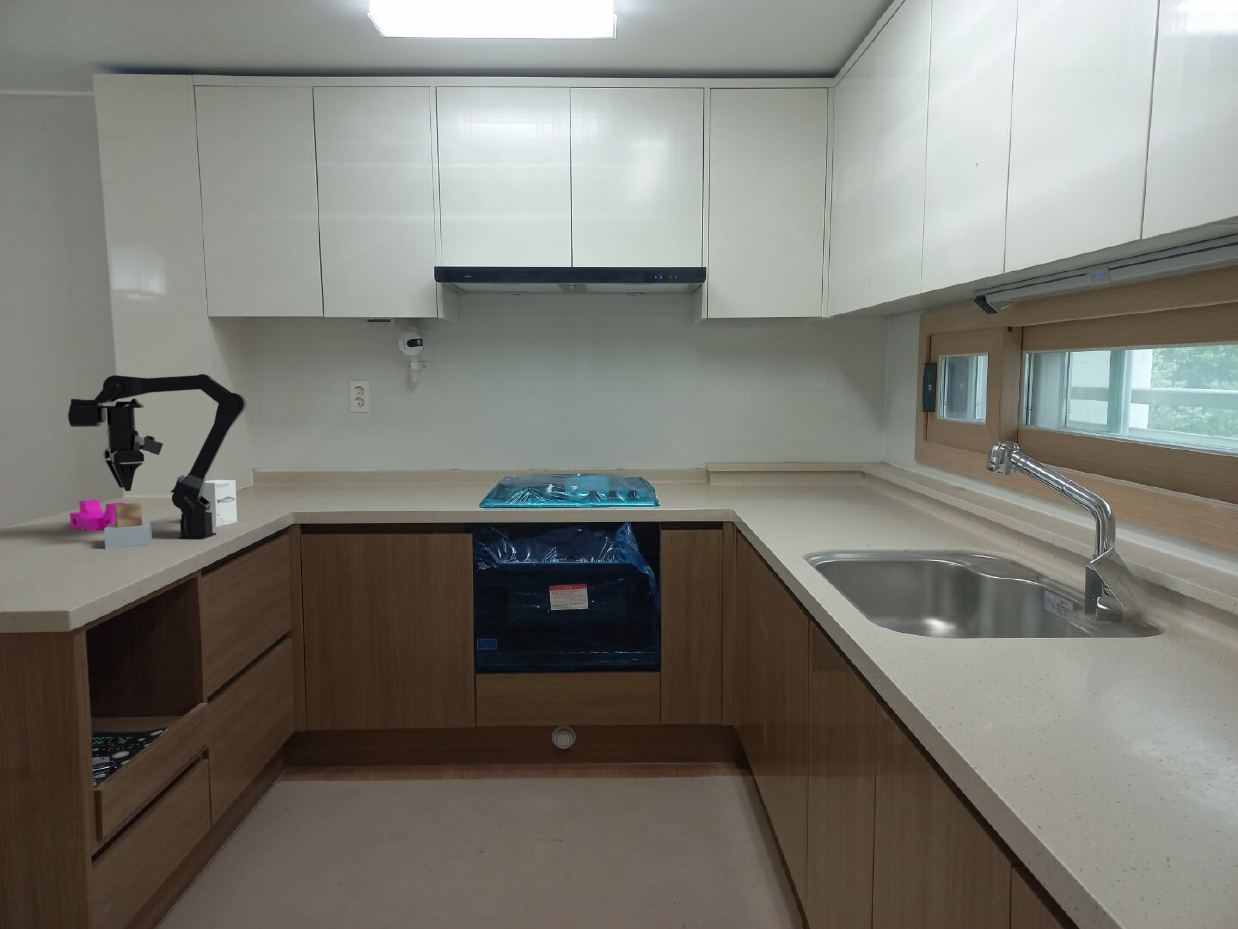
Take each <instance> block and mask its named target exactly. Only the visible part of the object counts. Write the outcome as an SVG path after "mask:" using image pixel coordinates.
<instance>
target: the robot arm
mask: <svg viewBox="0 0 1238 929" xmlns="http://www.w3.org/2000/svg"><path fill="white" fill-rule="evenodd" d="M194 390H196V391H197V390H201V392H203V393H204V394H206V395H207V396H208V397H210V398H211V399H212V400H213V401H214V402H216V404H217V403H218V404H217V408H216V413H215V415H214V416H215V417H214V420H213V421H214V422H213V425H212V427H211V428H210V431H209V433H208V435H207V437H206V439H205V441H204V443H203V445H202V447H201V448H200V451H199V452H198V455H197V457H196V459H195V461H194V462H193V465H192V467H191V468H190V471H189V473H188V474H186V476H185V475H183V474H182V475H180V476H179V477H177V479H176V482H175V486H174V487H173V489H172V490H170V493H171V494H172V496H171V501H172V504H173V506H174V507H176V508H178V509H179V510H180V512H181V514H180V516H181V517H180V518H181V519H180V520H179V526H180V536H177V538H178V540H180V539H181V540H183V539H184V540H185V539H186V540H191V539H192V540H203V539H206V538H209V537H213V536H216V535H217V532H213V530H214V529H213V527H212V512H207V511H209V509H210V506H211V502H209V501H208V500H207V499H205V498H204V497H203V496H202V493H203V489H204V484H205V481H206V479H207V478H206V477H207V475H208V473H209V472H210V470H211V467H212V466H213V463H214V462H215V459H216V457H217V455H218V453H219V451H220V450H221V447H222V445H223V443H224V442H225V440H226V437H227V435H228V433H229V431H230V429H231V428H232V427H233V425H234V424H235V423H236V422H237V420H238V419H239V418H240V416H242V414H243V412H244V411H245V410H246V409H247V401H246V399H245V397H244V396H243V395H242V394H240V393H237V392H231V391H230V390H229V389H227V388H226V387H224V386H223V385H221V384H220V383H218V381H216V380H215V379H214V378H213V377H212V376H211V375H209V374H206V373H199V374H193V375H181V376H163V377H160V376H159V377H148V378H147V377H139V376H138V377H137V376H125V375H110V376H108V377H106V379H105V380H103V383H102V390H101V391H100V392H99V393H98V394H97V396H96V397H95V398H94V399H82V398H71V399H70V405H69V408H68V412H67V418H68V423H69V426H71V428H87V427H88V428H92V427H93V428H94V427H95V428H96V427H97V428H99V427H101V425H102V424H103V423H104V424H105V423H107V430H106V435H107V436H108V438H107V439H108V440H107V441H108V446H107V447H106V448H105V449H104V450H103V451H102V453H103V459H105V460H104V462H105V464H106V466H107V467H108V468H109V471H110V473H111V475H112V477H113V478H114V480H115V482H116V484H117V486H118V487H119V488H120V489H121V488H123V489H124V491H125V492H130V491H131V490H132V487H133V482H134V478H135V473H136V470H137V469H138V468H139V467H140V466H142V465H143V463H145V454H144V453H143V452H142V451H145V452H149V453H150V454H154V455H157V456H159V455H160V453H161V451H162V447H163V446H164V443H162V442H160V441H156V440H155V439H156V438H155V437H154V436H152V435H151V436H150V435H147V434H146V436H144V437H142V436H139V435H140V434H139V431H138V430H136V420H135V418H136V416H135V409H142V408H144V404H142V403H141V402H139V401H138V399H137V398H136V397H139V396H143V395H146V394H147V395H148V394H152V393H165V392H180V391H181V392H182V391H194ZM134 397H135V398H134ZM131 398H132V399H131ZM124 399H131V400H130V401H126V400H125V401H122V400H124ZM118 400H119V401H118ZM120 400H121V401H120ZM114 402H116V403H115V405H104V404H108V403H110V404H111V403H114ZM106 421H107V422H106ZM141 450H142V451H141Z"/></svg>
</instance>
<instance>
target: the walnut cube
mask: <svg viewBox="0 0 1238 929" xmlns="http://www.w3.org/2000/svg"><path fill="white" fill-rule="evenodd" d="M114 509H115V525H116V526H117V527H118V528H119V527H130V526H141V525H142V522H143V516H142V513H143V512H142V505H141V503H139V502H134V503H125V504H117V505H114Z"/></svg>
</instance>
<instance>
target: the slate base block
mask: <svg viewBox="0 0 1238 929" xmlns="http://www.w3.org/2000/svg"><path fill="white" fill-rule="evenodd" d="M103 531H104V532H103V534H104V548H105V550H111V549H125V548H137V547H148V546H149V547H150V546H151V544H152V540H153V538H152V537H153V533H152V520H150V521H149V520H147V521H146V520H145V521H142V525H141V526H130V527H119V528H118V527H117V526H116V525H115V524H108V525H107V526H106V528H105V529H104V530H103Z"/></svg>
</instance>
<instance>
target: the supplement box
mask: <svg viewBox="0 0 1238 929" xmlns="http://www.w3.org/2000/svg"><path fill="white" fill-rule="evenodd" d="M236 483H237V482H236V480H233V479H232V480H231V479H212V480H205V484H204V489H203V493H202V496H203V497H204V498H205V499H207V500H208V501H209V502H211V506H210V509H209V511H207V512H212V528H213V527H214V528H218V527H223V526H226V525H231V524H235V523H234V522H236V523H238V510H237V509H238V508H237V485H236ZM230 523H231V524H230Z"/></svg>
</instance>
